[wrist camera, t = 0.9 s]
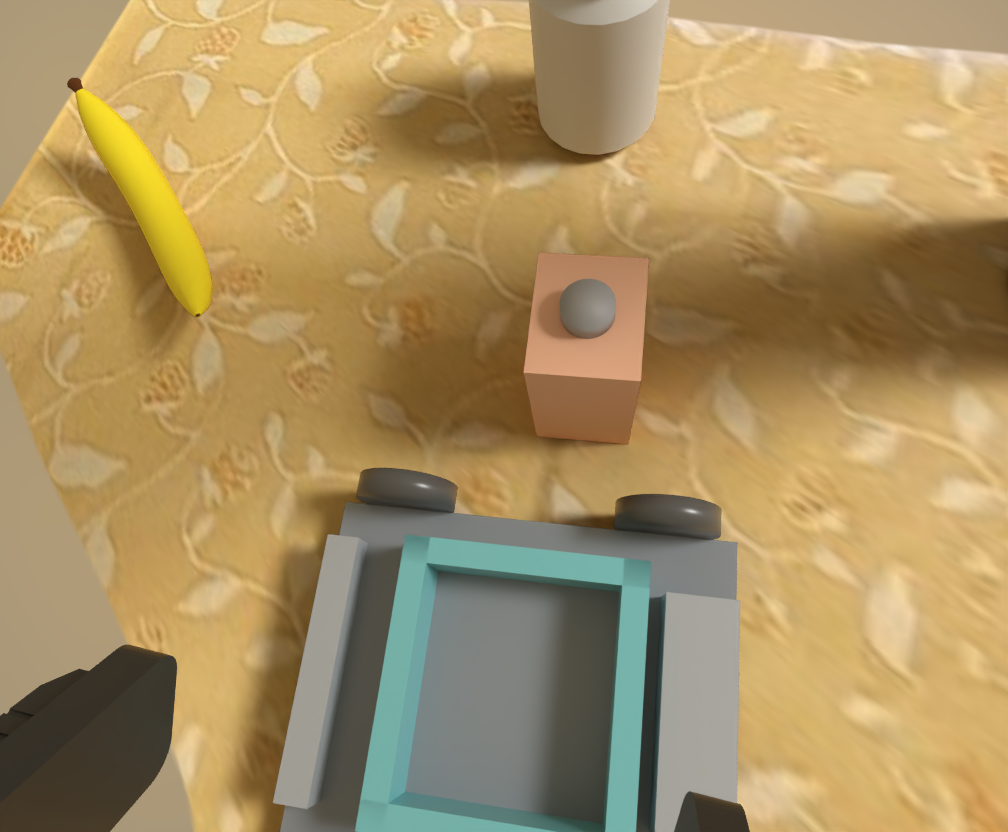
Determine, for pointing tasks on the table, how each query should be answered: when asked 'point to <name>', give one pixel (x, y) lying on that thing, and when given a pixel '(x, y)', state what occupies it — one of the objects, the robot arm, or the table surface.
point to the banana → (148, 201)
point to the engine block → (586, 346)
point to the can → (597, 70)
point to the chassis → (513, 669)
